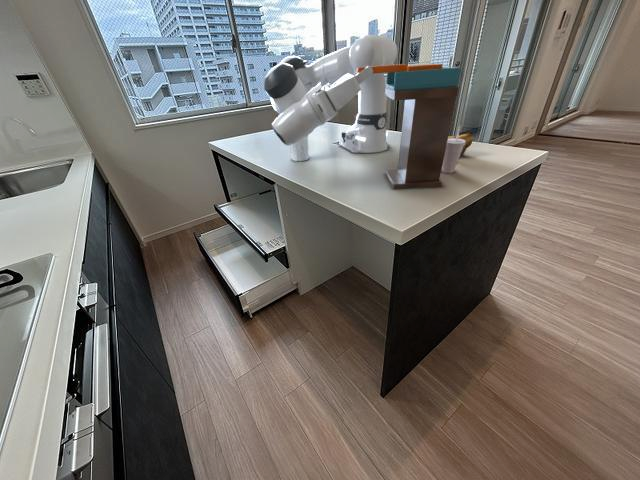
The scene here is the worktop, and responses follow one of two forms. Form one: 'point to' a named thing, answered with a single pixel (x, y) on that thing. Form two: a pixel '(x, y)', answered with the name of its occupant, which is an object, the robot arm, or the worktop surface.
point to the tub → (423, 79)
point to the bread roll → (467, 138)
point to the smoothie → (452, 153)
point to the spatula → (401, 68)
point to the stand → (422, 136)
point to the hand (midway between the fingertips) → (370, 68)
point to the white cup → (300, 150)
